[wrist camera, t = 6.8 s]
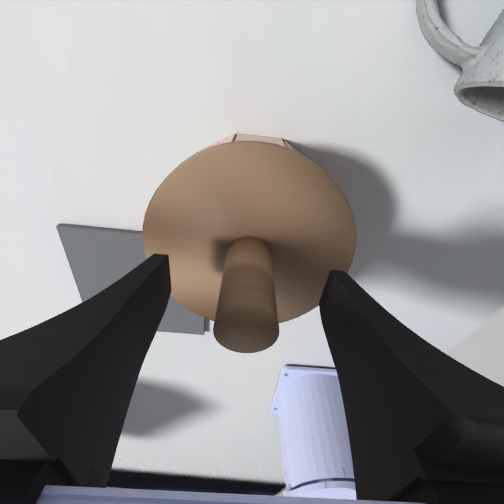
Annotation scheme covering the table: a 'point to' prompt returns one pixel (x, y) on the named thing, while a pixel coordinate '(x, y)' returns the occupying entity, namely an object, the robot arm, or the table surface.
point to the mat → (116, 268)
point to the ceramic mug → (469, 60)
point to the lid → (249, 237)
